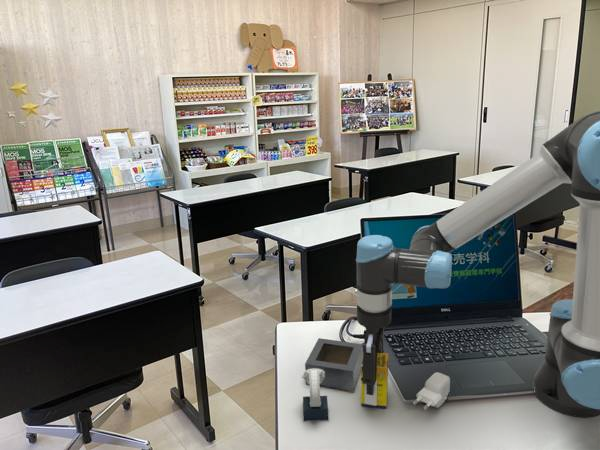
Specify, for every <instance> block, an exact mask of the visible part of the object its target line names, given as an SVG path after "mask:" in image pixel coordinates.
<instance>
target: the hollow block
mask: <svg viewBox="0 0 600 450" xmlns="http://www.w3.org/2000/svg"><path fill="white" fill-rule="evenodd" d="M362 345H363V343H357V342H349V341H343V340H342V341H341V340H335V339H328V338H321V337H320V338H318V339H317V341H316V342H315V345H314V346H313V349H312V350H311V352H310V354H309V356H308V357H307V360H306V361H305V363H304V369H305V370H304V371H306V370H308V369H321V370H323V371H324V372H325V378H324V380H323V381H322V383H321V384H320V388H324V389H331V390H335V391H342V392H348V393H354V392H355V389H356V387H357V384H358V381H359V378H360V376H361V363H362V358H363V347H362ZM305 385H307V386H310V385H309V384H307V382H306V381H305ZM317 386H318V385H317Z"/></svg>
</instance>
